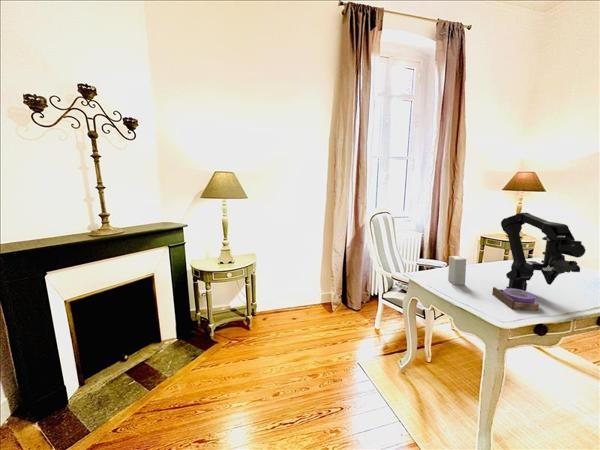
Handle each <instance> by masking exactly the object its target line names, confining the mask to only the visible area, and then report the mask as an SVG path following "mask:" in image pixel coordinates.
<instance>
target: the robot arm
mask: <svg viewBox="0 0 600 450" xmlns="http://www.w3.org/2000/svg"><path fill="white" fill-rule="evenodd" d="M525 224H528V225H530V226H532V227H534V228H536V229H539V230H540V231H541V233H543V234H544V235H546V236H544V237H542V240H543V241H545V242H546V243H545V249H544V251H542V255H544V256H543V259H542V260H541V263H540V262H537V261H535V260H534V261H531V260H527V259H526V256H525V251H524V248H523V243H522V239H521V235H520V233H521V232H522V231H521V230H522V227H523V225H525ZM500 226H501V228H502V231H503V232H504V233H505V234H506V235H507V238H508V243H509V245H510V246H509V247H510V252H511V256H512V261H513V262H512V263H511V266H510V268H511V270H510V271H509V272H506V278H507V279H509V280H508V286H506V288H505V289H508V288H512V289H519V290H524V291H527V288H528V287H527V286H528V283H527V281H531V279H532V277H533V276H534V273H535V271H540V272H541V273H542V275H543V277H544V280H545V282H546V284H547V285H549V286H550V285H552V284H553V282H554V281H555V279H556V278H557V277H558V276H559V275H561V274H565V273H571V272H573V273H580V272H581V267H580V266H579V265H578V262H577V261H576V260H566V256H569V257H574V258H581V257H583V256H584V255H585V253H586V247H585V246H584V245H583V244H582V243H583V242H582V241H581V240H575V237H574V235H573V233H572V232H571V230H570V228H569V226H568V225H567V224H565V223H561V222H560V223H559V222H553V221H548V220H546V219H543V218H541V217H538V216H535V215H533V214H531V213H528V212H519V213H516V214H514V215H511V216H508V217H504V218H503V219H502V220H501V222H500ZM565 255H566V256H565Z"/></svg>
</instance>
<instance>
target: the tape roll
mask: <svg viewBox="0 0 600 450" xmlns="http://www.w3.org/2000/svg"><path fill="white" fill-rule="evenodd" d="M502 290H503V293H504V294H506V295H507V296H509V297H510V298H512V299H513V300H514V301H515V302H516V303H531V304H536V295H535V294H533V293H532V292H530V291H527V290H526V291H524V290H519V289H512V288H505V289H502Z"/></svg>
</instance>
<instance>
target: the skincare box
mask: <svg viewBox="0 0 600 450" xmlns="http://www.w3.org/2000/svg"><path fill="white" fill-rule="evenodd" d="M466 268H467V258H464V257H462V256H460V255H449V256H448V275H447V281H449V282H451V284H453V285H456V286H457V285H458V286H465V285H466V270H467V269H466Z"/></svg>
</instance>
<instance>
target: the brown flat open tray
mask: <svg viewBox="0 0 600 450" xmlns="http://www.w3.org/2000/svg"><path fill="white" fill-rule="evenodd" d="M503 290H504V289H500V288H499V289H498V288H497V287H494V286H492V293H491V294H492V296H494V297H495V298H497V300H499V301H500V302H501V303H502V304H504V305H505V306H507V308H510V310H515V309H520V310H519V311H530V310H532V311H533V312H538V311H539V309H540V308H539V307H540V304H539V303H535V304H531V303H516V302H515V301H514V300H513V299H512V298H510V297H509V296H507V295H506V294H504V293H503Z"/></svg>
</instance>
